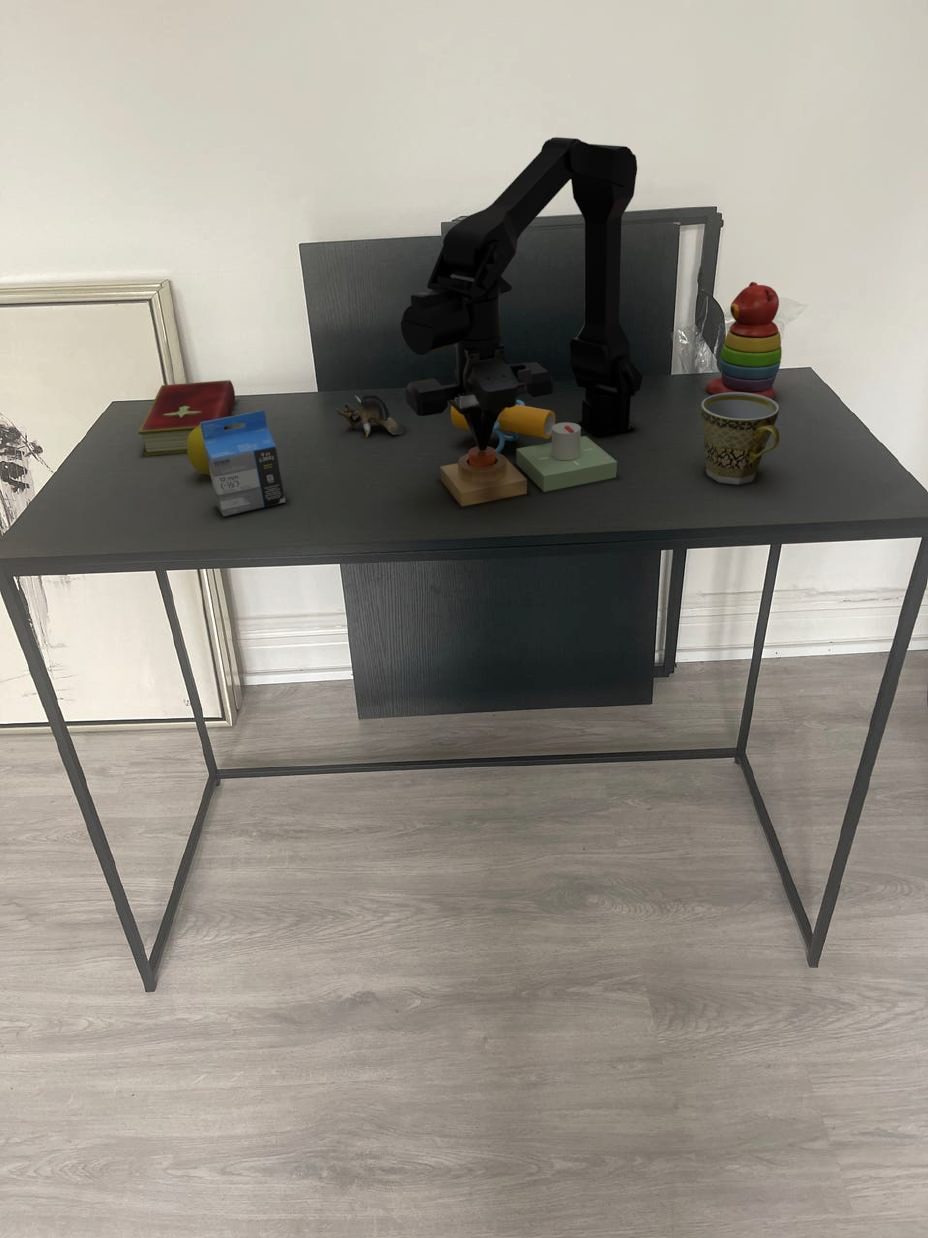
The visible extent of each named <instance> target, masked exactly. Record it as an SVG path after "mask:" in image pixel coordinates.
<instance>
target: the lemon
mask: <svg viewBox="0 0 928 1238" xmlns="http://www.w3.org/2000/svg"><path fill="white" fill-rule="evenodd" d="M187 457H188V460H189V462H190V464H191V465H192V467H193V468H194V469H195V470H196V471H198V472H199V473H201V474H205V475H207V476H209V477H211V474H210V470H209V466H208V461H207V457H206V453H205V449H204V444H203V435H202V431H201V426H200V425H199V426H198V427H197V428H195V429H194V430H192V432H191V433H190V434H189V436H188V439H187Z"/></svg>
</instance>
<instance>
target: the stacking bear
mask: <svg viewBox="0 0 928 1238" xmlns="http://www.w3.org/2000/svg"><path fill="white" fill-rule="evenodd" d="M779 305H780V299H779V296H778V294H777V291H775V289H774V288H772V287H771V286H769V285H765V284H758V283H757V282H756V281H751V282H749V284H748V286H747V287H745V288H743V289H742V290H741V291H740V292H739V293H738V294H737V296H736V297H735V298H734V299H733V300H732V302H731V304H730V308H729V311H730V314H731V317H732V318H733V319H734V322H732V324H731V325H730V326H729V330H728V331H727V334H726V336H725V339H724V343H723V345H722V348H721V351H720V359H719V360H720V363H719V364H720V371H721V372H720V373H721V377H718V378H717V377H716V378H714V379H711V380H709V382H708V383H707V384H706V391H707V393H708V394H711V395H716V394H721V393H729V392H743V393H752V394H757V395H761V396H765V397H767V398H770V399H772V400H773V399H774V398H775V389H774V383H775V380H776V378H777V374H778V373H779V370H780V366H781V363H782V356H783V355H782V353H783V351H782V350H783V349H782V337H781V332H780V330H779V328H778V326H777V324H776V323H775V322H773V321H774V320H775V318H776V316H777V313H778V310H779V307H780V306H779Z"/></svg>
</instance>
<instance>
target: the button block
mask: <svg viewBox="0 0 928 1238" xmlns="http://www.w3.org/2000/svg"><path fill="white" fill-rule="evenodd" d="M439 469H440V471H439V473H440V481H441V482H442V484H443V485H444V487H446V489H447V490H448V491H449V492H450V494H451V495H452V497H453V498H454V499H455V501H457V503H458V504H459V506H461V507H467V506H471V505H477V504H482V503H486V502H491V501H496V500H502V499H507V498H511V497H516V496H521V495H525V494H528V479H527V478H526V477H525V476H524V475H523V474H522V473H521V471H519V470H518V469H517V468H516V467H515V466H514V464H513V463H512V462H510V460H509V459H508V458H507V457H506V456H505V455H503V454H502V453H496V452H495V464H494V465H492V466H488V467H474V466H470V464H469V452H467V453H465V454H464V455H461V456H460V457H459V459H458V462H457V463H451V464H446V465H440V466H439Z"/></svg>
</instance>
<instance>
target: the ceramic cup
mask: <svg viewBox="0 0 928 1238" xmlns="http://www.w3.org/2000/svg"><path fill="white" fill-rule="evenodd" d="M779 412H780V405H779V404H778V402H777V401H775V400H772V399H770V398H767V397H765V396H761V395H757V394H752V393H743V392H729V393H721V394H716V395H714V394H711V395H710V396H708V397H706V398H705V399H703V400H702V402H701V425H702V434H703V440H704V443H703V444H704V456H705V470H706V475H707V476H708V477H709V478H711V479H713V480H714V481H716V482H717V483H719V484H720V483H722V484H729V485H744V484H747V483H751V482H753V481H754V480H755V479H756V475H757V473H758V469H759V465H760V463H761V460H762V457H763V455H765V454H766V453H767V452H769V451H772V450H774V449H775V448H776V447H777V446H778V445H779V442H780V433H779V430H778V428H777V427H776V426H775V425H776V422H777V419H778V416H779ZM771 435H772V436H773V438H774V439H773V441H774V442H773V444H772V445H770V446H769V447H767V448H766V446H767V443H768V441H769V439H770V437H771Z"/></svg>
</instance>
